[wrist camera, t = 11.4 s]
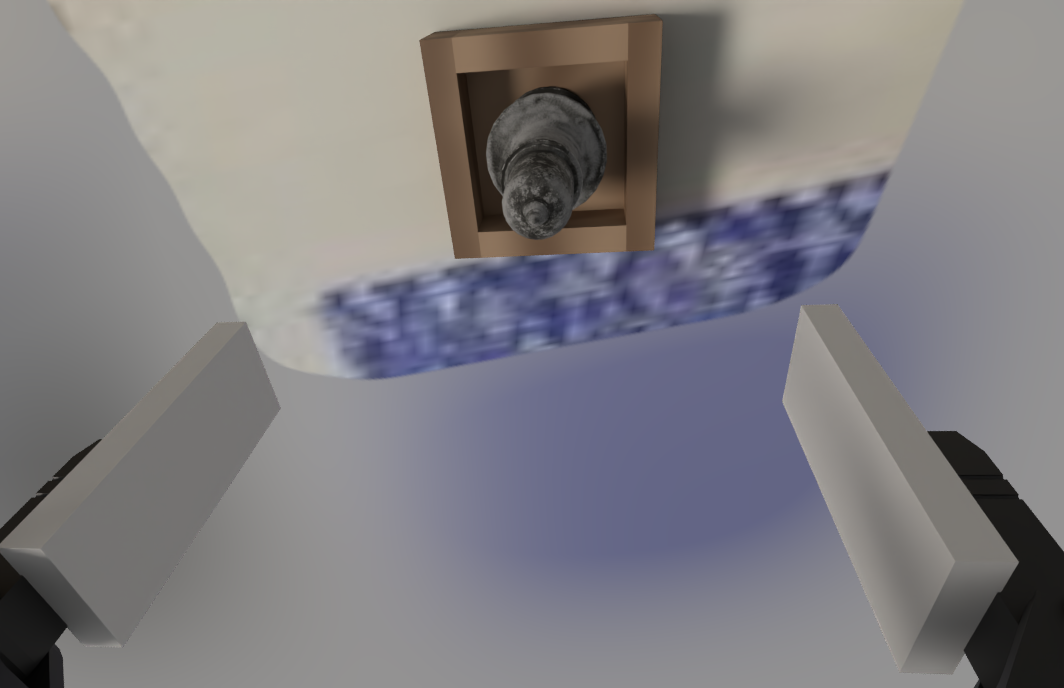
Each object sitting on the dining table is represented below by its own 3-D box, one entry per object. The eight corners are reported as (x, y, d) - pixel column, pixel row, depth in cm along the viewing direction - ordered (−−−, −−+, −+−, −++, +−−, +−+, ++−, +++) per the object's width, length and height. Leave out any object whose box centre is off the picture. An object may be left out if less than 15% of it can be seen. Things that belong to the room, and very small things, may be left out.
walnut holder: (654, 14, 29) (662, 20, 26) (648, 226, 35) (654, 250, 32) (434, 32, 30) (419, 40, 27) (464, 235, 36) (454, 258, 33)
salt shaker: (621, 101, 30) (640, 170, 20) (583, 206, 34) (583, 311, 24) (511, 63, 30) (475, 115, 20) (483, 174, 33) (439, 267, 23)
